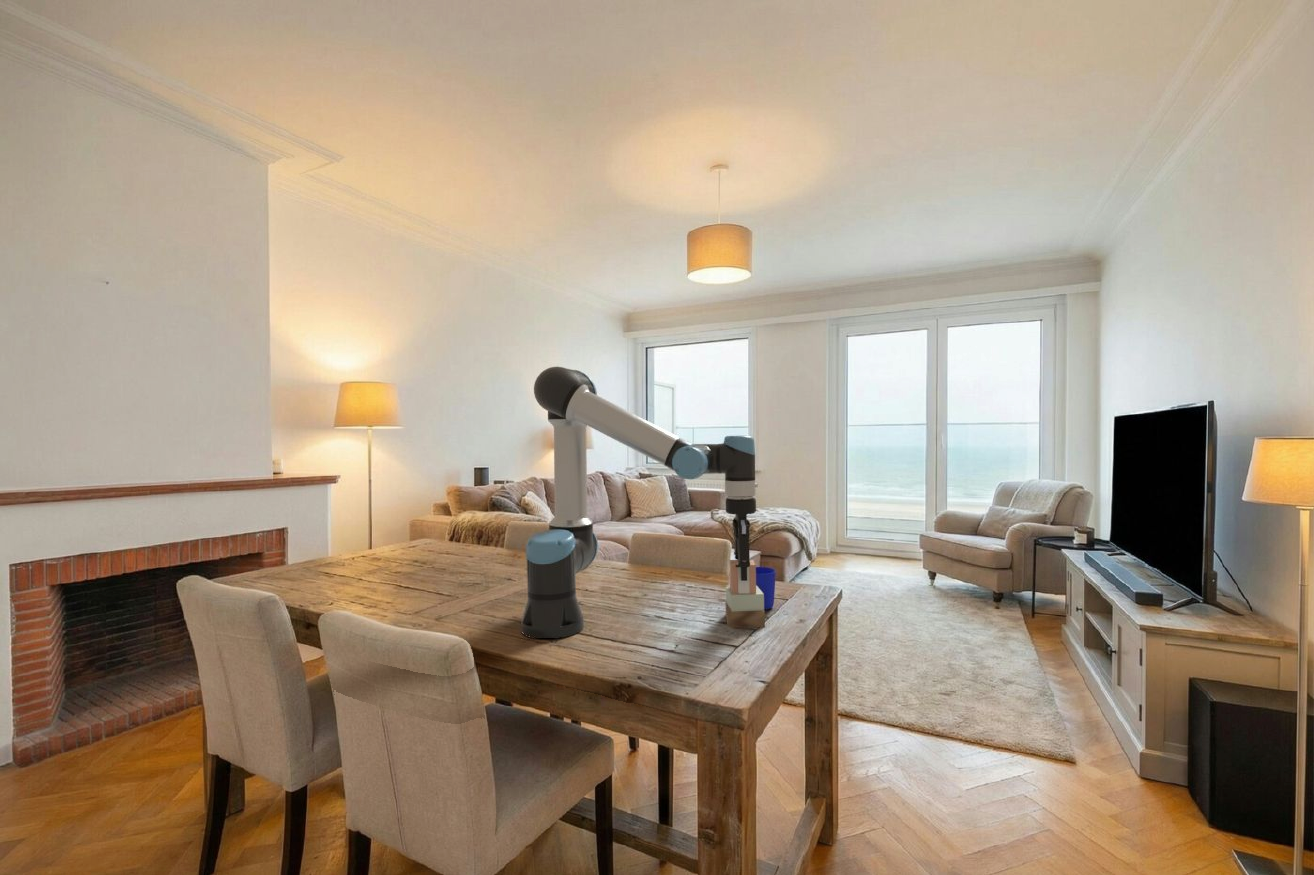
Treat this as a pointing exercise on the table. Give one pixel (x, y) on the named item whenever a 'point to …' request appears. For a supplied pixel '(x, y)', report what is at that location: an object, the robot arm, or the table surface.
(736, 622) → the riser lower
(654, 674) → the table surface
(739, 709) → the table surface
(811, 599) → the table surface
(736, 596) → the block
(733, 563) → the clay block
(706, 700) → the table surface
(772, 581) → the mug
